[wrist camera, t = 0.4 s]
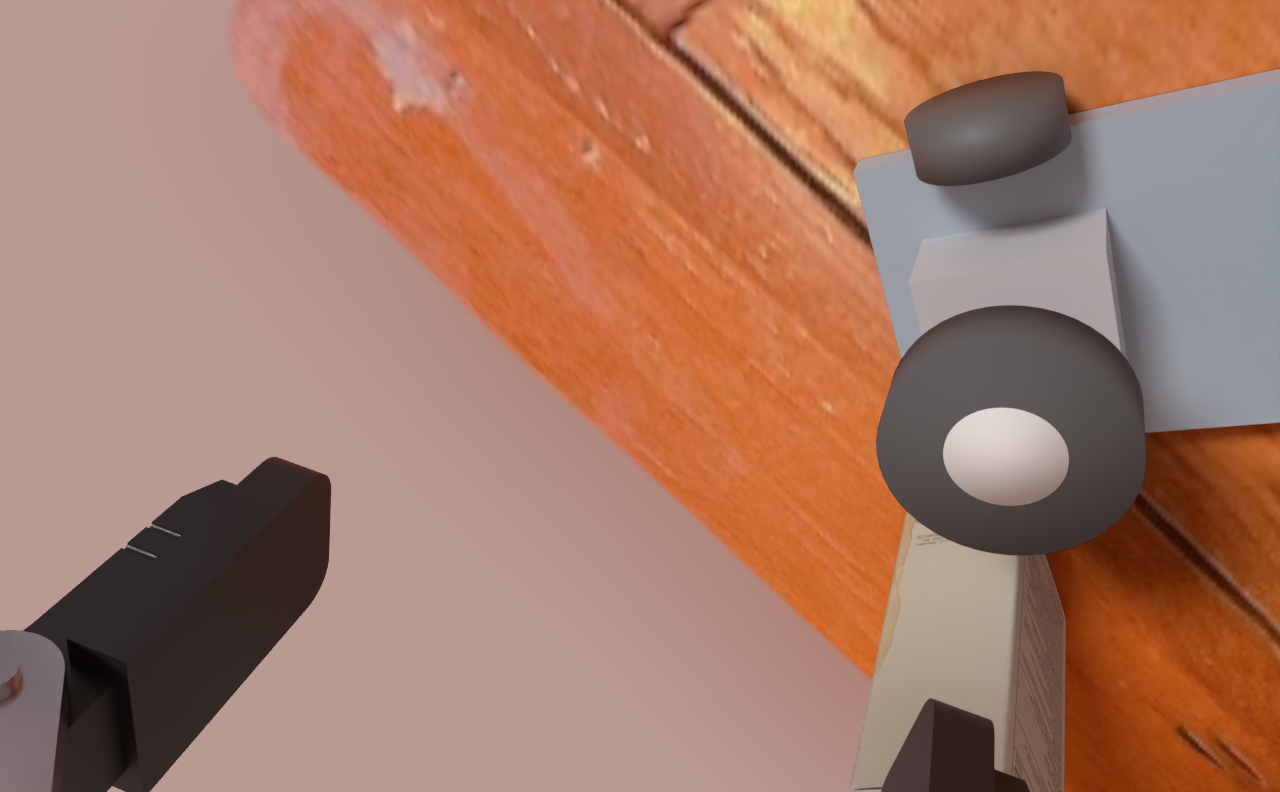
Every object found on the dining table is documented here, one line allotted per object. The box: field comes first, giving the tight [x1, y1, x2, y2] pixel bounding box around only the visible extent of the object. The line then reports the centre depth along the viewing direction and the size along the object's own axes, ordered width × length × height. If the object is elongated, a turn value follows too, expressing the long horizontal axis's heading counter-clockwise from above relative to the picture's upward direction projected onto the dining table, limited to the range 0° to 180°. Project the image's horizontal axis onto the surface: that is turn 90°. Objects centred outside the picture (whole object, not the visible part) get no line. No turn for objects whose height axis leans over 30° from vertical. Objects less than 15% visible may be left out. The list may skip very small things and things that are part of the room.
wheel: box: [876, 305, 1147, 556], centre depth 25 cm, size 6×6×2 cm
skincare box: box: [849, 512, 1066, 792], centre depth 32 cm, size 6×4×12 cm
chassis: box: [854, 69, 1280, 433], centre depth 27 cm, size 20×13×4 cm, turn 110°
